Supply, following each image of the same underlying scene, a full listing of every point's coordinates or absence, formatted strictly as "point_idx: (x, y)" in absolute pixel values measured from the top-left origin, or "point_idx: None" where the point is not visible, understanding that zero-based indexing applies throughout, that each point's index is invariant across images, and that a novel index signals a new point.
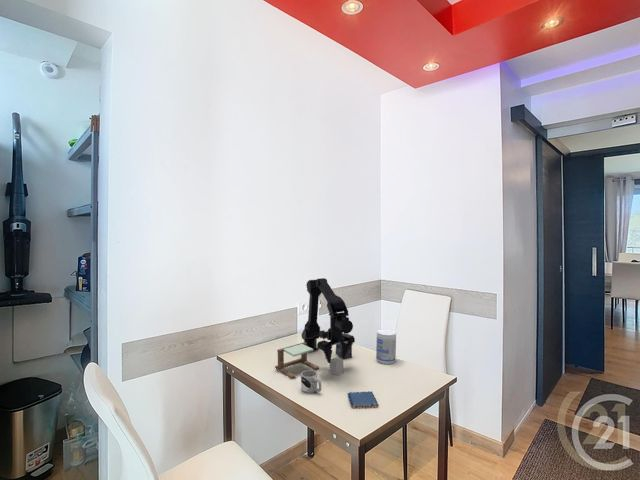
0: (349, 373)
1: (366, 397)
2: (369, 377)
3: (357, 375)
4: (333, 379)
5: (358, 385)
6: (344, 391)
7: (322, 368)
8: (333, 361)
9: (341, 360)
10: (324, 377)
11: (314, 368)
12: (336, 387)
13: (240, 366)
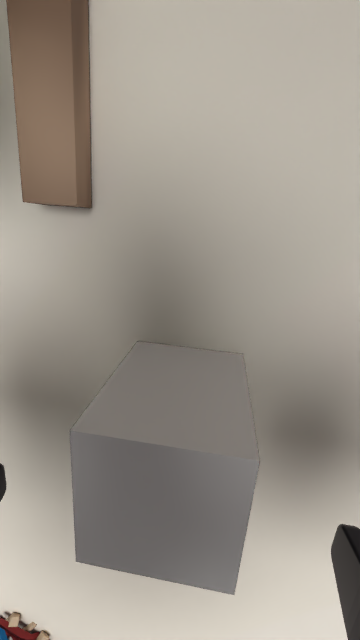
0: (258, 488)
1: None
2: (310, 622)
3: (274, 550)
4: (68, 451)
5: (146, 610)
6: (22, 581)
7: (142, 212)
8: (74, 512)
9: (197, 581)
10: (28, 377)
11: (29, 171)
12: (10, 527)
13: None
